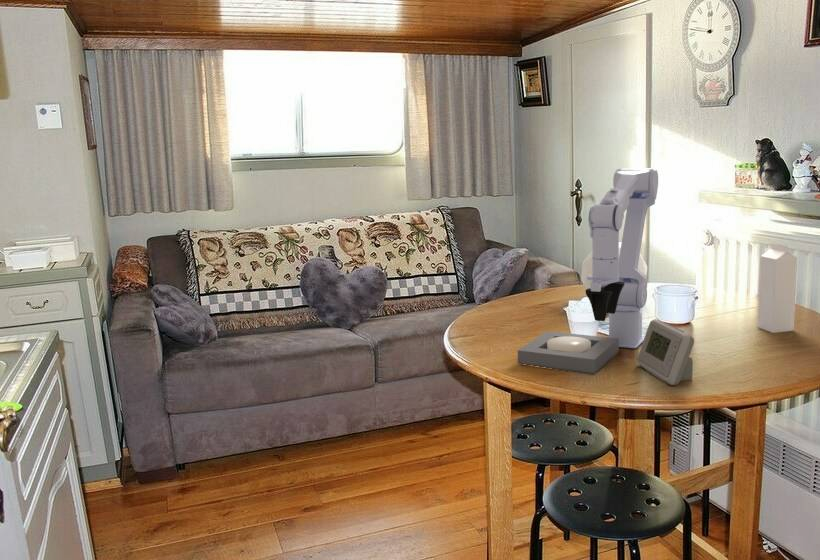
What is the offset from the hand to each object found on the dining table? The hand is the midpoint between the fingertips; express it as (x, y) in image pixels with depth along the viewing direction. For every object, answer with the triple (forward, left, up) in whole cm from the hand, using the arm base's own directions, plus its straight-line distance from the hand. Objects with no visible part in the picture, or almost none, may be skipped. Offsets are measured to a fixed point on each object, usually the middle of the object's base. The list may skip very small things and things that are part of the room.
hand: (605, 316), depth 165 cm
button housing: (+2, -8, -10) cm, 13 cm away
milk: (-42, +31, -11) cm, 53 cm away
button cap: (+2, -8, -10) cm, 13 cm away
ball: (-57, -15, -11) cm, 60 cm away
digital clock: (+5, +14, -11) cm, 18 cm away
